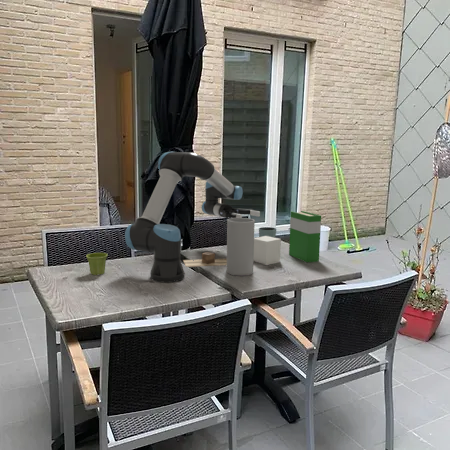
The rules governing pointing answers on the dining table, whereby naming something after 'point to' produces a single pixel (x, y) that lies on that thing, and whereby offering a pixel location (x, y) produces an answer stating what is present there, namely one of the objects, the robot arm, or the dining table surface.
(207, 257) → the walnut block
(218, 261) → the wooden cutting board
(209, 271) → the dining table surface
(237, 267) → the cylinder vase
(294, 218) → the hardback book
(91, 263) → the plant pot
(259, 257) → the white cover
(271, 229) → the grey-blue cup
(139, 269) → the dining table surface
